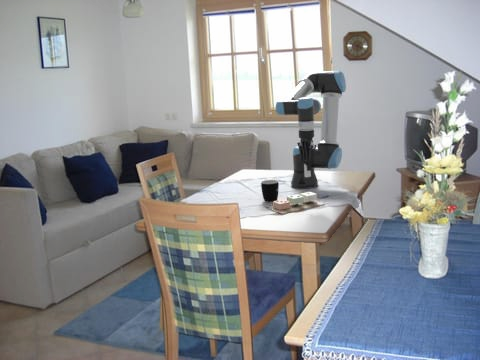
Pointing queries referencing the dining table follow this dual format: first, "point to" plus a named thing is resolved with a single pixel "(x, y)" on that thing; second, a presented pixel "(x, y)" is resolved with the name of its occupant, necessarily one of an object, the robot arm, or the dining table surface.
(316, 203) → the board
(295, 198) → the tile
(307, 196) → the tile
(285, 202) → the pink square block
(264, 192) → the mug
